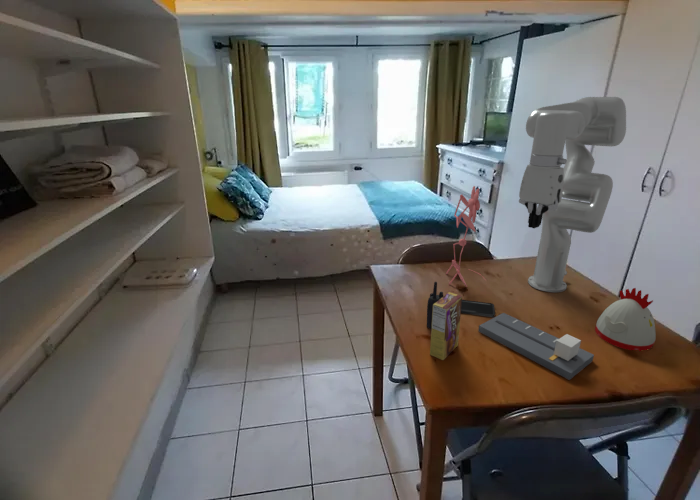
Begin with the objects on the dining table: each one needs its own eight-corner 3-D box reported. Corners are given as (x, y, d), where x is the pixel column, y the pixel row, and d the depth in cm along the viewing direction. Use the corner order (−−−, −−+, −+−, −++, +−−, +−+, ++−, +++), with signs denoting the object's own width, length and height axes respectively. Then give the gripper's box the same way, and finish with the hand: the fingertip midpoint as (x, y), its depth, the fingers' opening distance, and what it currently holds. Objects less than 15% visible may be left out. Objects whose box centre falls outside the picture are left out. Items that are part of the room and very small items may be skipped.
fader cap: (563, 346, 102) (566, 333, 100) (577, 353, 99) (581, 340, 97) (553, 353, 99) (556, 340, 97) (568, 361, 96) (571, 347, 95)
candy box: (444, 339, 109) (448, 291, 103) (458, 345, 106) (464, 296, 101) (428, 354, 103) (432, 303, 97) (442, 361, 100) (448, 309, 94)
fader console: (502, 318, 119) (503, 312, 119) (592, 361, 100) (594, 354, 99) (478, 331, 113) (479, 324, 112) (569, 380, 93) (571, 372, 92)
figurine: (449, 295, 133) (462, 195, 121) (441, 265, 157) (451, 179, 144) (495, 298, 132) (513, 197, 119) (480, 267, 156) (493, 180, 143)
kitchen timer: (632, 356, 102) (647, 306, 96) (584, 329, 114) (595, 283, 108) (664, 343, 107) (681, 295, 102) (615, 319, 119) (628, 274, 113)
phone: (446, 297, 130) (493, 303, 126) (446, 300, 131) (493, 306, 127) (445, 308, 123) (495, 315, 119) (445, 312, 124) (494, 318, 120)
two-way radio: (429, 331, 113) (433, 284, 108) (421, 323, 117) (424, 278, 111) (445, 327, 115) (450, 281, 109) (437, 319, 119) (441, 275, 113)
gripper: (581, 163, 100) (567, 231, 106) (527, 156, 111) (517, 218, 118) (566, 166, 96) (552, 236, 102) (511, 159, 107) (502, 223, 114)
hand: (533, 226), depth 110 cm, fingers closed
